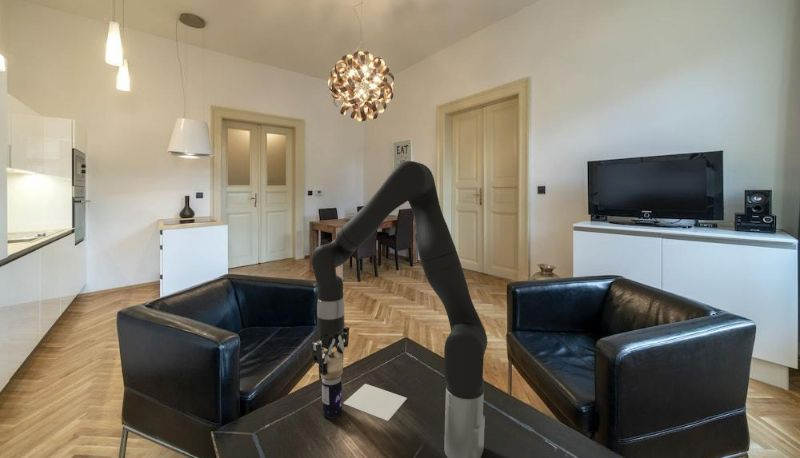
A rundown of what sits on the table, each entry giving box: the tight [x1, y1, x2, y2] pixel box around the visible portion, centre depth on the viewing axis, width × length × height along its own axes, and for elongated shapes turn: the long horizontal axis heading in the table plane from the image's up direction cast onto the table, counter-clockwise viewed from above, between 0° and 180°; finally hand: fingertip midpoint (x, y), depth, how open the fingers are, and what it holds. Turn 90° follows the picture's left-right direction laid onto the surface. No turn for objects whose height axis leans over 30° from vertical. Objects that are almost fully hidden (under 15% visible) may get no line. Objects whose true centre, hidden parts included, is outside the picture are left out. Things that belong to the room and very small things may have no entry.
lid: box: [319, 350, 344, 379], centre depth 97 cm, size 6×6×6 cm
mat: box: [342, 383, 408, 422], centre depth 104 cm, size 16×12×1 cm
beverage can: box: [321, 375, 343, 419], centre depth 98 cm, size 6×6×12 cm
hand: (331, 368), depth 97 cm, fingers closed on lid, 6 cm apart
